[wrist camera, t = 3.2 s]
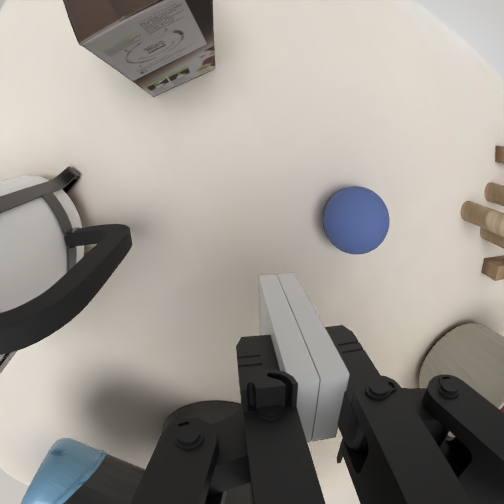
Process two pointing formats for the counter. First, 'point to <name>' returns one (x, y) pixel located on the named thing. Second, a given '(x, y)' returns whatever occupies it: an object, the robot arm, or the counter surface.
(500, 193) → the pin
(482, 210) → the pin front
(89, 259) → the coffee press
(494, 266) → the rail
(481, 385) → the canister
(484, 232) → the pin
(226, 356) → the counter surface
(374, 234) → the ball
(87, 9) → the coffee box
